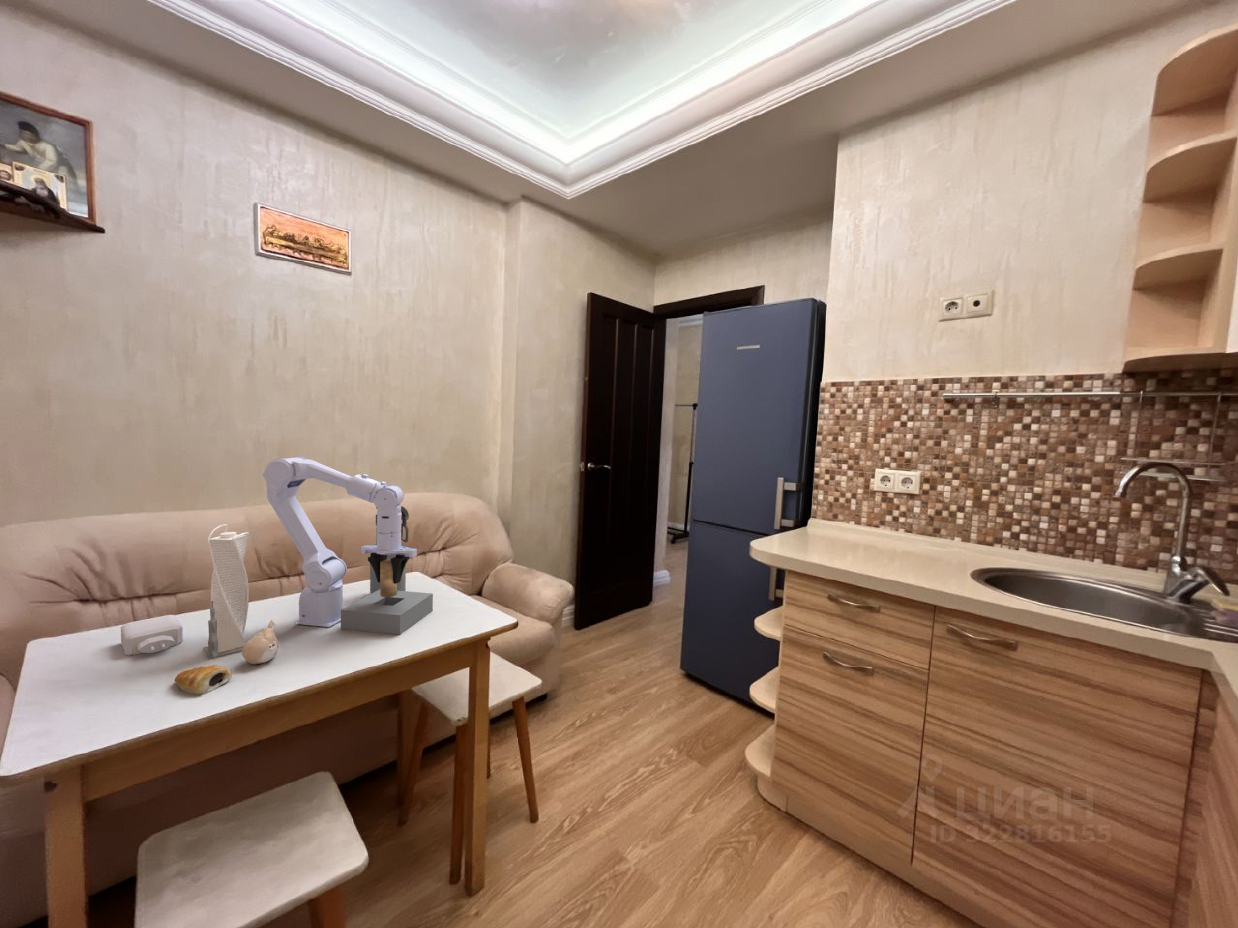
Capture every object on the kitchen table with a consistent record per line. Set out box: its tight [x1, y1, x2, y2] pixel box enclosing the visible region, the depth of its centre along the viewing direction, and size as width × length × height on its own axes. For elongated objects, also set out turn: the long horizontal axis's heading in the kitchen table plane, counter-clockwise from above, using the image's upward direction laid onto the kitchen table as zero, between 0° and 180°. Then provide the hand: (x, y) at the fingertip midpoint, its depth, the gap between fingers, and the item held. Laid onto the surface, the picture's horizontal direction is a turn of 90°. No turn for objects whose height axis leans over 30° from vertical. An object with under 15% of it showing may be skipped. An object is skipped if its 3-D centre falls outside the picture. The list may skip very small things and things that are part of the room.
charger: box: [120, 614, 184, 656], centre depth 106 cm, size 5×9×15 cm
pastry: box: [174, 664, 233, 696], centre depth 92 cm, size 9×7×4 cm
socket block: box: [340, 589, 434, 636], centre depth 126 cm, size 16×16×5 cm
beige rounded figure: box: [241, 619, 280, 665], centre depth 102 cm, size 7×6×8 cm
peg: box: [380, 560, 397, 597], centre depth 125 cm, size 4×4×9 cm
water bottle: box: [369, 505, 410, 595], centre depth 143 cm, size 10×10×28 cm
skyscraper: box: [202, 523, 250, 661], centre depth 106 cm, size 8×8×28 cm
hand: (388, 581), depth 125 cm, fingers closed on peg, 4 cm apart
